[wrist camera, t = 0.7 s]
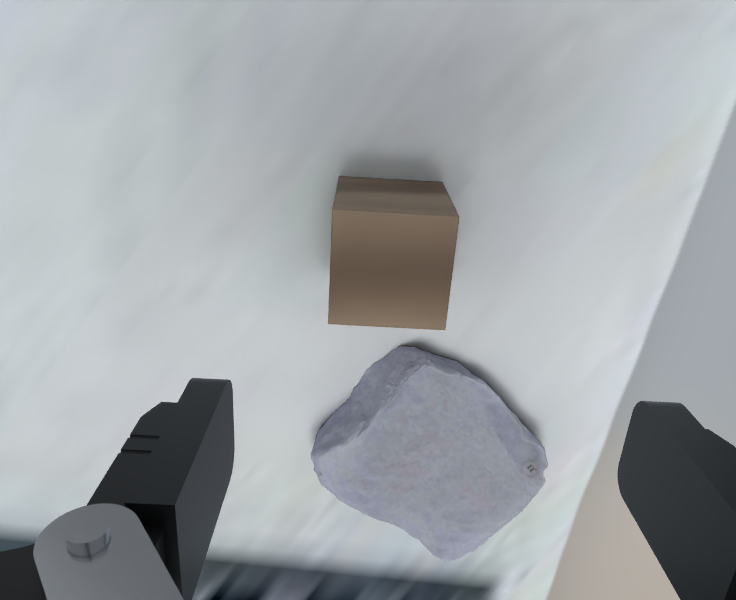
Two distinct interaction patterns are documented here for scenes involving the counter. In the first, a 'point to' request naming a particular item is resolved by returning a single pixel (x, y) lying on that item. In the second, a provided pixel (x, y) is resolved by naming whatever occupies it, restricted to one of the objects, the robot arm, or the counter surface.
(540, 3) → the counter surface
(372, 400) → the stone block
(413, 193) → the walnut block
